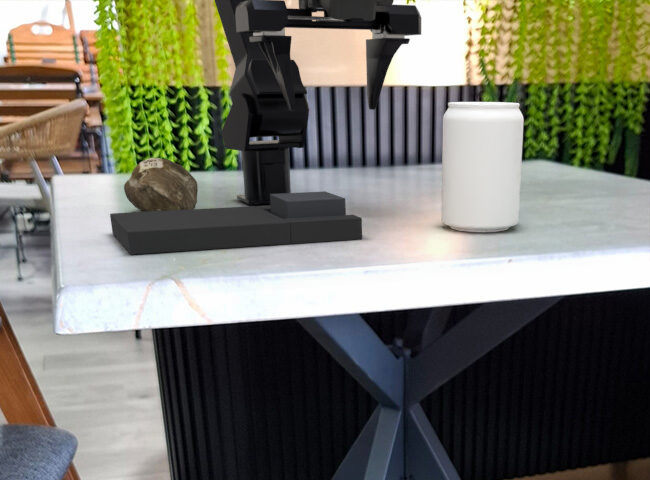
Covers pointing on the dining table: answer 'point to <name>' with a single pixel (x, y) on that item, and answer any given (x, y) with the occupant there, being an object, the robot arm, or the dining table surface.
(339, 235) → the u-shaped holder
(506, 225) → the beverage can
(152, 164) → the fossilized seashell
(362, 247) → the dining table surface
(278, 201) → the pad
